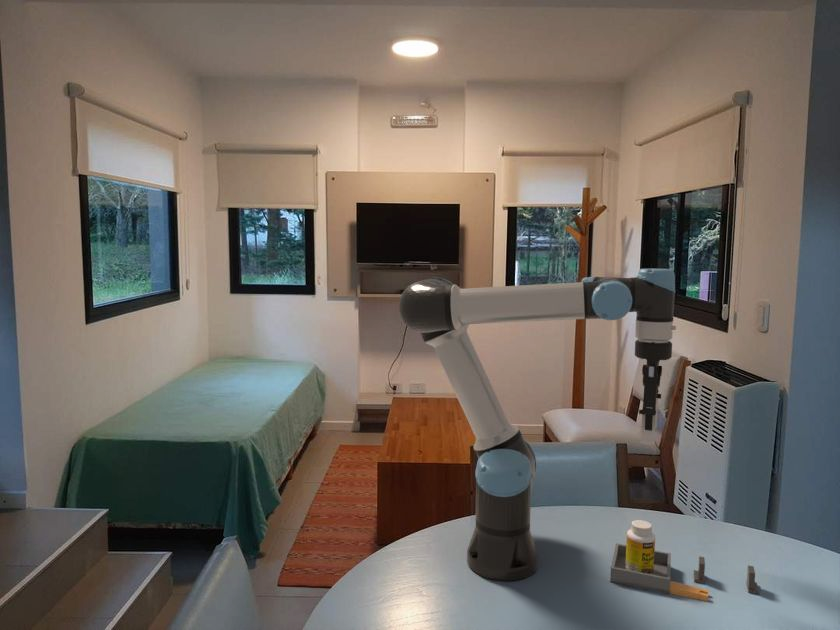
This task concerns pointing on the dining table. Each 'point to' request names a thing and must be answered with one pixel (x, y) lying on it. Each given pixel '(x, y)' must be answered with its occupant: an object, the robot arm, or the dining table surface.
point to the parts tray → (638, 579)
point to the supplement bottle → (640, 547)
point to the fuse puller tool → (688, 591)
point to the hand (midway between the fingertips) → (649, 435)
